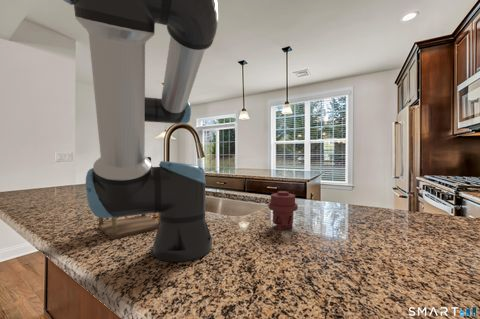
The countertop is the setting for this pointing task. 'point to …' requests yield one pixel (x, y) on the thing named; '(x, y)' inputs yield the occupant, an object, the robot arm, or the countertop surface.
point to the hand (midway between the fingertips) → (130, 205)
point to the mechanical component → (283, 209)
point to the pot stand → (128, 226)
